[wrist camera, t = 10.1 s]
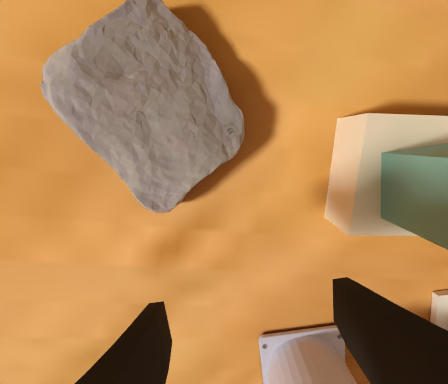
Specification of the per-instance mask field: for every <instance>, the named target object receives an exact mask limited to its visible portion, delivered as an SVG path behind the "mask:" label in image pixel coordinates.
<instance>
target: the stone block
mask: <svg viewBox="0 0 448 384" xmlns="http://www.w3.org/2000/svg"><path fill="white" fill-rule="evenodd" d="M42 75H43V82H42V83H41V88H42V93H43V96H44V98H45V99H46V100H47V102H48V103H49V104H50V105H51V107H52V108H53V110H54V111H55V112H56V114H57V115H58V116H59V117H60V118H61V119H62V120H63V121H64V122H65V123H66V124H67V125H68V126H69V127H70V128H71V129H72V130H73V131H74V133H75V134H76V135H77V136H78V137H79V138H80V139H81V140H82V141H83V142H85V143H86V144H87V145H88V146H89V147H90V148H91V149H92V150H93V151H94V152H96V153H97V154H98V155H99V156H100V157H101V158H103V159H104V160H105V161H106V162H107V163H108V164H109V165H110V166H111V167H112V168H113V169H114V170H115V171H116V172H117V174H118V175H119V176H120V178H121V179H122V180H123V181H124V182H125V183H126V184H127V185H128V187H129V188H130V190H131V192H132V193H133V195H134V197H135V198H136V200H137V201H138V202H139V203H140V204H141V205H142V206H143V207H144V208H146V209H148V210H151V211H153V212H156V213H164V212H170V211H171V210H172V209H173V208H174V207H175V206H177V205H178V204H179V203H181V202H182V200H183V199H184V198H185V197H186V195H187V193H188V192H189V191H190V190H191V188H193V187H194V186H195V185H196V184H197V183H199V182H200V181H201V180H202V179H204V178H205V177H206V176H207V175H209V174H210V173H212V172H213V171H214V170H215V169H217V168H218V167H219V166H220V165H221V164H223V163H225V162H227V161H229V160H231V159H232V158H234V156H235V155H236V154H237V153H238V150H239V148H240V146H241V144H242V143H243V141H244V139H245V132H244V131H245V129H244V116H243V114H242V111H241V109H240V108H239V107H238V106H237V105H236V104H235V103H234V101H233V99H232V97H231V95H230V92H229V90H228V86H227V83H226V80H225V79H224V77H223V75H222V73H221V70H220V68H219V66H218V65H217V63H216V61H215V60H214V59H213V57H212V55H211V53H210V52H209V50H208V48H207V47H206V45H205V44H204V43H203V42H202V40H201V39H200V38H199V37H198V36H196V35H195V34H194V33H193V32H192V31H190V30H188V29H187V27H186V25H185V24H184V23H183V21H181V20H180V19H178V18H177V17H176V16H175V15H174V14H173V13H172V12H171V11H170V10H169V9H168V7H167V6H166V5H165V4H164V3H163V2H162V1H161V0H127V1H125V2H124V3H123V4H122V5H121V6H119V7H118V9H115V10H114V11H112V12H111V13H109V14H107V15H106V16H104V17H103V18H101V19H100V20H98V21H97V22H95V23H94V24H93V25H91V26H89V27H88V28H87V29H86V31H85V32H84V33H83V34H82V35H81V36H80V37H79V38H78V39H76V40H74V41H72V42H70V43H68V44H66V45H65V46H63V47H62V48H60V49H58V50H57V51H56V52H55V53H53V54H52V55H51V56H50V57H49V59H48V60H47V62H46V63H45V64H44V65H43V71H42Z"/></svg>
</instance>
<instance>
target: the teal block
mask: <svg viewBox="0 0 448 384" xmlns="http://www.w3.org/2000/svg"><path fill="white" fill-rule="evenodd" d="M381 218H382V219H384V220H386V221H388V222H390V223H392V224H395V225H397V226H399V227H401V228H403V229H405V230H407V231H409V232H412V233H414V234H416V235H418V236H420V237H422V238H424V239H426V240H428V241H431V242H433V243H435V244H437V245H439V246H441V247H443V248H445V249H447V250H448V143H447V144H440V145H433V146H426V147H419V148H412V149H405V150H398V151H391V152H384V153H381Z"/></svg>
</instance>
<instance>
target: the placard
mask: <svg viewBox="0 0 448 384" xmlns="http://www.w3.org/2000/svg"><path fill="white" fill-rule="evenodd" d="M430 322H431V323H433V324H435V325H437V326H439V327H441V328H444V329H446V330H448V290H442V291H435V292H432V303H431V314H430Z"/></svg>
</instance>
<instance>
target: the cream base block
mask: <svg viewBox="0 0 448 384" xmlns="http://www.w3.org/2000/svg"><path fill="white" fill-rule="evenodd" d="M447 143H448V116H435V115H407V114H379V113H366V114H360V115H354V116H349V117H343V118H337V126H336V133H335V141H334V148H333V156H332V164H331V171H330V179H329V186H328V194H327V201H326V209H325V217H324V218H326V219H327V220H328V221H330V222H331V223H332V224H334V225H335V226H337V227H338V228H339V229H341V230H342V231H344V232H345V233H346V234H348V235H368V236H418V235H416V234H414V233H412V232H409V231H407V230H405V229H403V228H401V227H399V226H397V225H395V224H392V223H390V222H388V221H386V220H384V219H382V218H381V153H384V152H391V151H398V150H405V149H412V148H419V147H426V146H433V145H440V144H447Z"/></svg>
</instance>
